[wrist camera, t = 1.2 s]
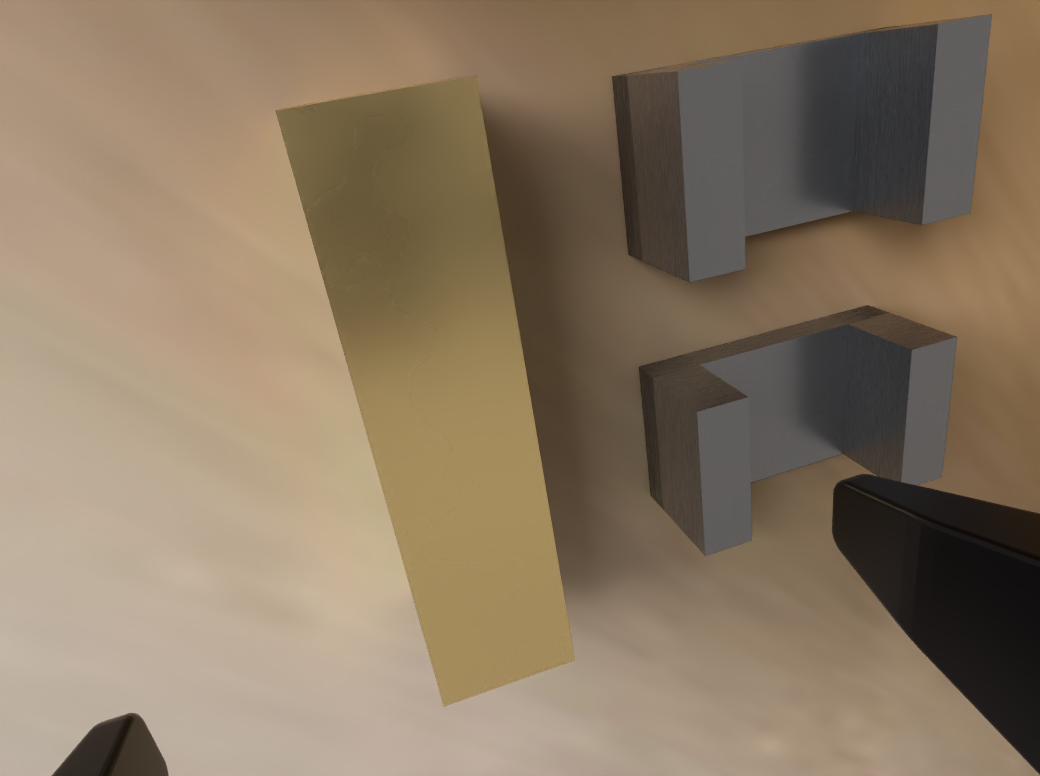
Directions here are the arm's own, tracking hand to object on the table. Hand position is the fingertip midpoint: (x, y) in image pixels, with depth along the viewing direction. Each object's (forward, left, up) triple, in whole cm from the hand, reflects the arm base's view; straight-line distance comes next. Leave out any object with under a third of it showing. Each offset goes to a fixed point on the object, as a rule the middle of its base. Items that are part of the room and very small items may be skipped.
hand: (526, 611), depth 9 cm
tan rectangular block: (0, 0, -9) cm, 9 cm away
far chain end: (-3, -9, -9) cm, 13 cm away
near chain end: (+4, -9, -9) cm, 13 cm away
